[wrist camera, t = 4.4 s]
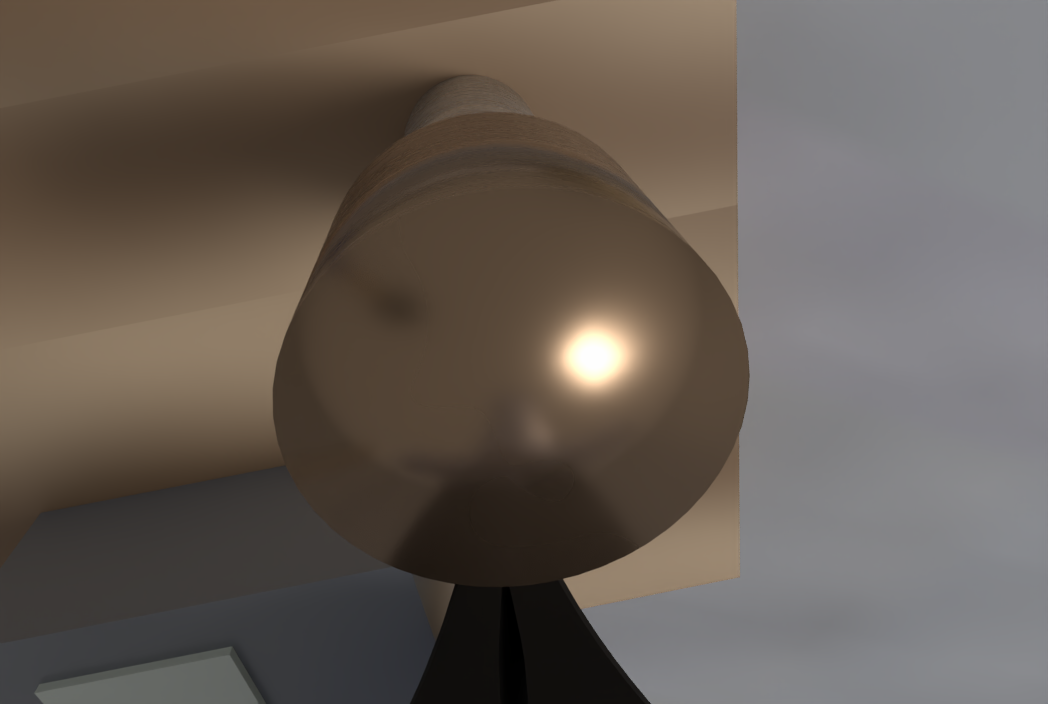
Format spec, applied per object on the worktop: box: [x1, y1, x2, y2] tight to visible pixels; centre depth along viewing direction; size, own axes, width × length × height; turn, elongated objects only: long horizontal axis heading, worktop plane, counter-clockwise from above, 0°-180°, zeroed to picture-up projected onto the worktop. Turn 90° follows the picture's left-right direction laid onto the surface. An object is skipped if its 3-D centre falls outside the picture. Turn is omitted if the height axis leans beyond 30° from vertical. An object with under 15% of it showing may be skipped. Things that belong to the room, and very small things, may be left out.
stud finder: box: [0, 465, 455, 704], centre depth 12 cm, size 5×7×3 cm
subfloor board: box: [0, 0, 740, 609], centre depth 13 cm, size 15×26×2 cm, turn 99°
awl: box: [273, 75, 750, 587], centre depth 7 cm, size 3×3×7 cm
